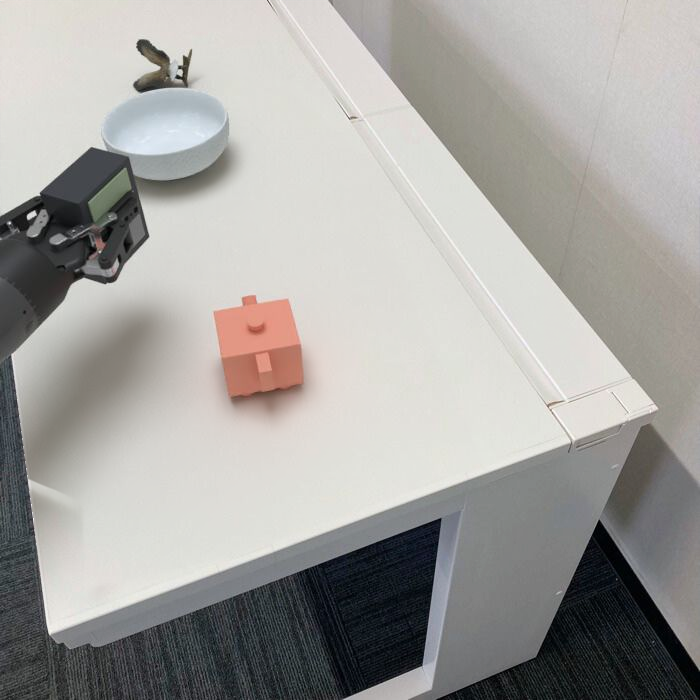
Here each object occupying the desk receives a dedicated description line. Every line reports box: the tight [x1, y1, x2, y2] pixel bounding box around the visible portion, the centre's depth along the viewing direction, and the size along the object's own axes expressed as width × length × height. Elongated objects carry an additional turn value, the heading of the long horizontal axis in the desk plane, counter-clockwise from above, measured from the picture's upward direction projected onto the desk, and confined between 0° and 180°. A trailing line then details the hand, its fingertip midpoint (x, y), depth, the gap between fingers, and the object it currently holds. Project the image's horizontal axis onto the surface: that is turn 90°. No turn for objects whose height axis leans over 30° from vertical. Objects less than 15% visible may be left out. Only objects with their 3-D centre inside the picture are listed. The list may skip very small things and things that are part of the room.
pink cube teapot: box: [213, 294, 305, 398], centre depth 80 cm, size 8×12×8 cm, turn 14°
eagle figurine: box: [132, 38, 193, 91], centre depth 121 cm, size 8×7×9 cm
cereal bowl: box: [100, 87, 230, 181], centre depth 106 cm, size 17×17×7 cm
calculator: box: [39, 146, 150, 285], centre depth 76 cm, size 5×8×10 cm, turn 157°
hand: (112, 192), depth 77 cm, fingers closed on calculator, 4 cm apart
